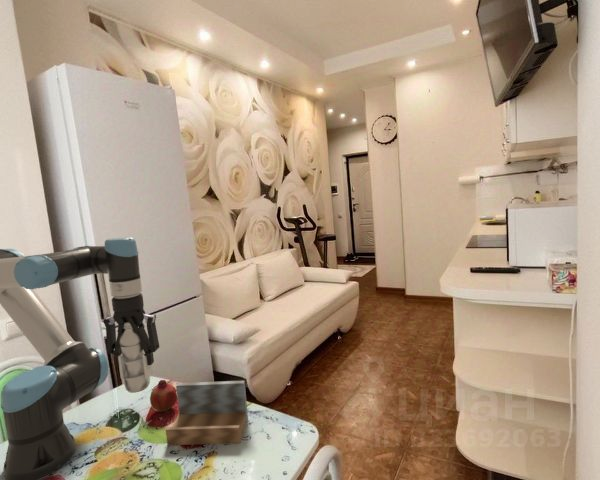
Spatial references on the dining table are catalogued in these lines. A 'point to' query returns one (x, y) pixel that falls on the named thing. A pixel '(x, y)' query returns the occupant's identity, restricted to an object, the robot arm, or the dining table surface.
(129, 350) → the silver metal bottle
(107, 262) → the robot arm
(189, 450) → the dining table surface
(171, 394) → the fruit
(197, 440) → the brown wooden box
